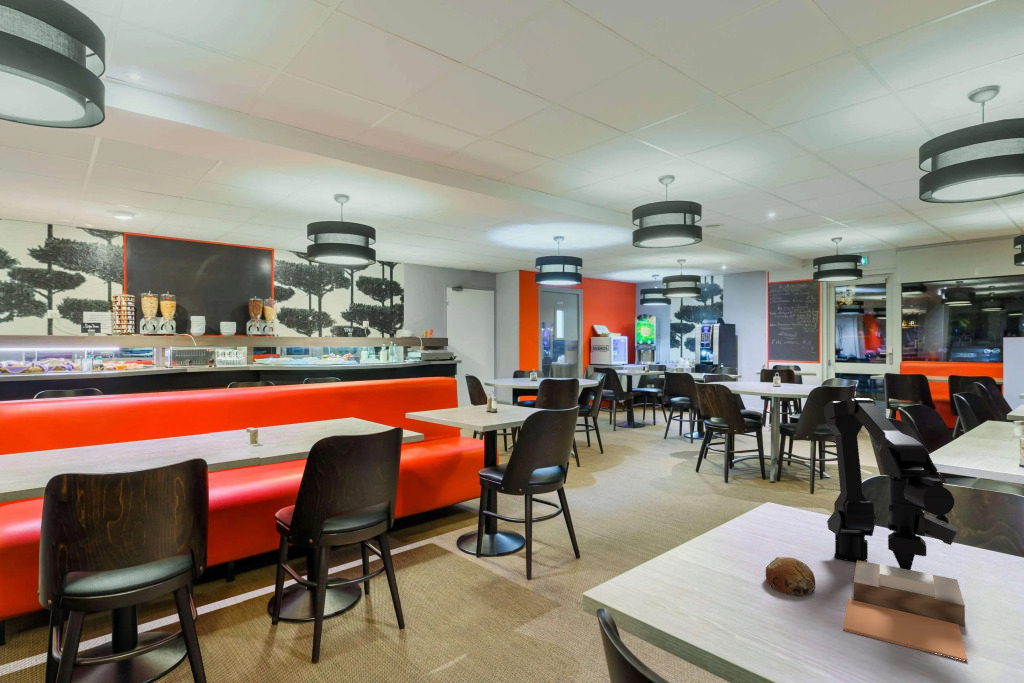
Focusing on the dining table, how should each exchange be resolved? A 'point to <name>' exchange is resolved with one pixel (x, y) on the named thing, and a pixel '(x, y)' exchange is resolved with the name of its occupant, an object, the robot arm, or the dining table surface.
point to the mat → (904, 629)
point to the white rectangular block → (907, 580)
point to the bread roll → (790, 576)
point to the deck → (910, 595)
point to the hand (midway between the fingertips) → (906, 574)
